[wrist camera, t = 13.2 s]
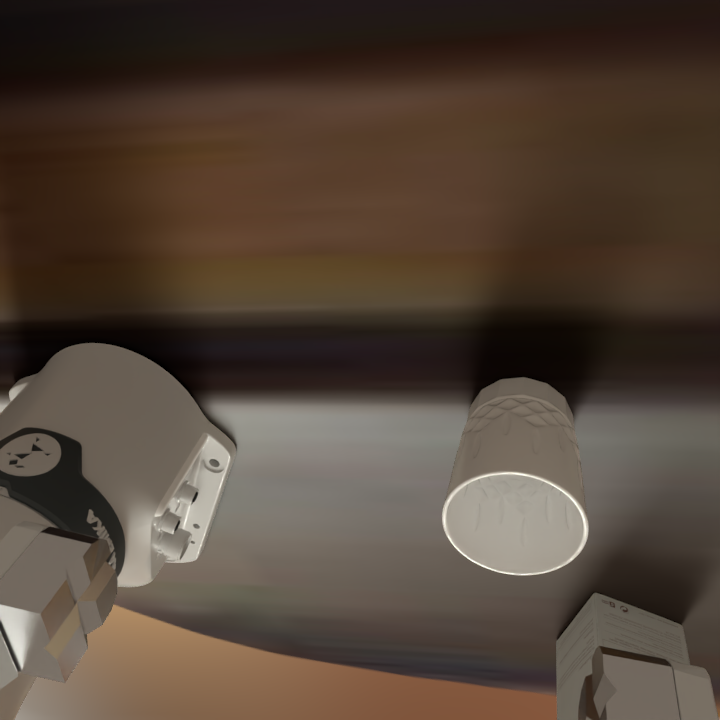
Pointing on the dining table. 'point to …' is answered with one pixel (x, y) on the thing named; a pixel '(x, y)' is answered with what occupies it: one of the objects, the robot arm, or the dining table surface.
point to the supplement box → (610, 644)
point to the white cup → (517, 481)
